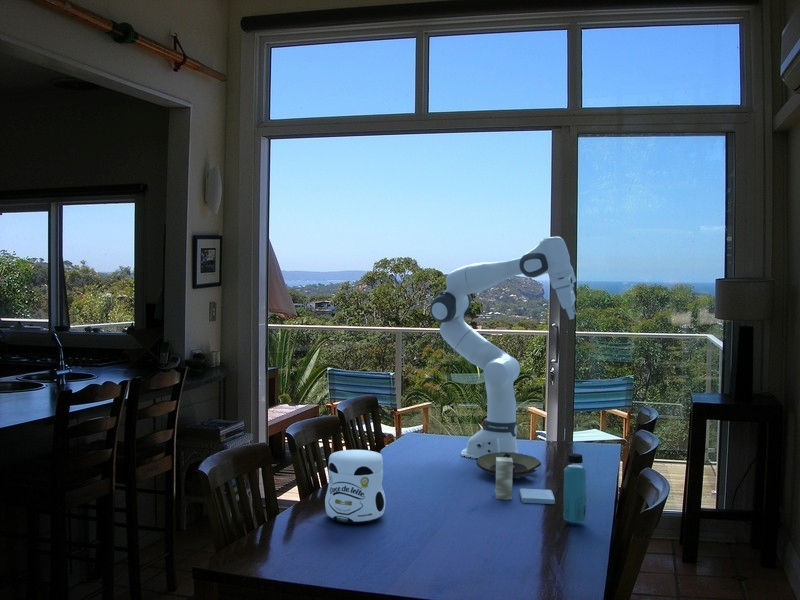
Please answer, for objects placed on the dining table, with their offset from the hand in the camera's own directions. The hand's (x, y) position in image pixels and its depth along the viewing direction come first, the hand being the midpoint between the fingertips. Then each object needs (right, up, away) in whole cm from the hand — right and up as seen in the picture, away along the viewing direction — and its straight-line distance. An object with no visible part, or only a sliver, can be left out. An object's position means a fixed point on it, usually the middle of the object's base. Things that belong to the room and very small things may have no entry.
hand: (572, 316), depth 259 cm
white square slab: (-19, -57, -31) cm, 68 cm away
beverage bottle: (-13, -58, -55) cm, 81 cm away
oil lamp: (-25, -56, -6) cm, 62 cm away
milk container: (-75, -57, -53) cm, 108 cm away
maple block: (-29, -57, -30) cm, 70 cm away
